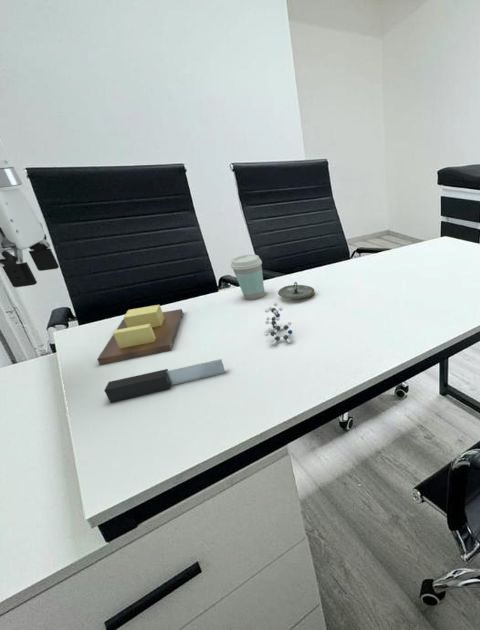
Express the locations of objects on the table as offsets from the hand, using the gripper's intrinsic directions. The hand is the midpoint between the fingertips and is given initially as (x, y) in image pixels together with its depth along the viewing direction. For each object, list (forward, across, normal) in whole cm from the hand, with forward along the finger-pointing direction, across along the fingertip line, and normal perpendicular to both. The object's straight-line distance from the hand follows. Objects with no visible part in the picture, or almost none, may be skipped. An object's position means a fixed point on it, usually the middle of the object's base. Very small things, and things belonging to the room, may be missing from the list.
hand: (38, 277), depth 72 cm
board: (+22, -15, +8) cm, 28 cm away
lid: (+22, -23, +46) cm, 56 cm away
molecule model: (+22, 0, +39) cm, 45 cm away
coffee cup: (+22, -30, +34) cm, 51 cm away
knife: (+22, +12, +17) cm, 31 cm away
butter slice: (+21, -8, +8) cm, 24 cm away
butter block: (+21, -19, +8) cm, 29 cm away
